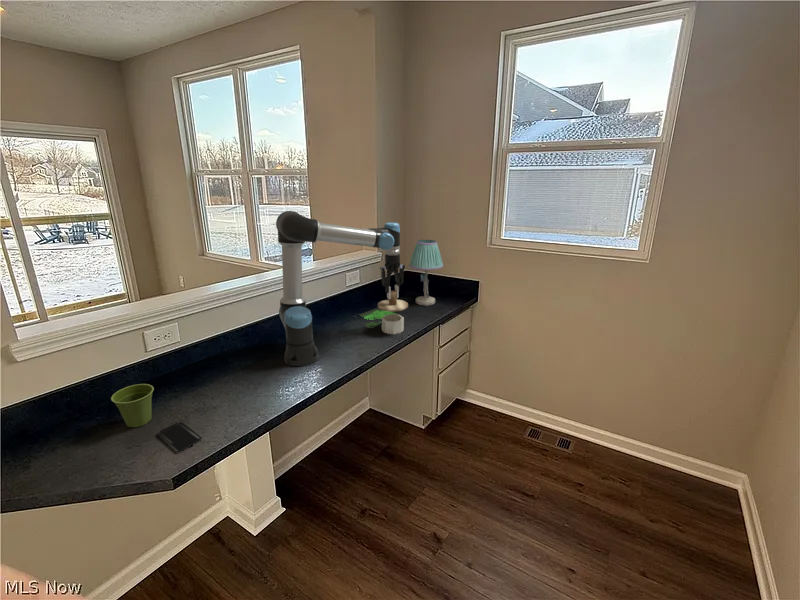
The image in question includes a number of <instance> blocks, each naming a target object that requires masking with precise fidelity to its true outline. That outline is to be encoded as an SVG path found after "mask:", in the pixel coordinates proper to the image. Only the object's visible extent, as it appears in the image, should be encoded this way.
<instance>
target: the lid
mask: <svg viewBox="0 0 800 600" xmlns="http://www.w3.org/2000/svg"><path fill="white" fill-rule="evenodd" d="M377 308H379V309H380V310H383V311H389V312H394V313H396V312H402V311H404V310H407V309H408V308H409V303H408V302H407V301H405V300H403V299H398V298H397V291H395V289H393V290H391V299H384V300H381V301H379V302H378V303H377Z"/></svg>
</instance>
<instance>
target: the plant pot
mask: <svg viewBox="0 0 800 600" xmlns="http://www.w3.org/2000/svg"><path fill="white" fill-rule="evenodd" d="M154 390H155V388H154V386H153V385H151V384H150V383H149V384H148V383H139V384H138V383H137V384H132V385H129V386H125V387H124V388H123V387H122V388H121V389H119V390H116V392H115V393H113V394H112V396H111V397H110V401H111V402H112V403H114V404H115V406H116V407H117V409H118V410H119V413H120V415H121V416H122V418H123V422H124V423H125V425H126V426H127V427H128V428H138V427H139V428H140V427H143V426H145V425H146V424H148V423H149V422H150V421H151V420H152V398H153V392H154Z"/></svg>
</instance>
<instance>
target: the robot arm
mask: <svg viewBox="0 0 800 600" xmlns="http://www.w3.org/2000/svg"><path fill="white" fill-rule="evenodd" d="M275 227H276V229H277V242H278V244H280V246H281V259H282V260H281V262H282V266H281V267H282V294H283V296H282V298H280V300H279V310H278V316H279V319H280V320H281V322H282V325H283V327H284V330H285V338H286V339H285V340H286V347H285V351H284V355H283V357H284V360H283V361H284V364H286V365H288V366H290V367H291V366H292V367H305V366H309V365H313V363H315V362H316V361H318V360H319V351H318V348H317V345H316V344H315V341H314V333H313V332H314V330H313V315H312V312H311V309H309V308H307V305H306V304H307V303H306V302H307V301H306V298H305V297H304V296H303V259H302V257H303V254H302V252H303V251H302V249H303V248H302V246H304V244H305V243H313V244H314V243H316V242H318V241H319V242H328V243H335V244H343V245H344V244H345V245H352V246H361V247H370V248H376V249H381V250H384V253H385V254H384V261H385V263H384V265H383V266H380V267H379V269H380V273H381V275H380V276H381V285H382V286H383V287H385V293H386V298H387V300H389V299H391V288H392V287H391V286H390V284H391V277H392V274H394V275H393V276H394V280H395V283H396V284H394V291H397V299H398V298H399V295H400V294H399V292H400V291H401V285H403V284H404V276H405V275H404V273H405V272H404V271H405V267H406V265H404V264H401V255H400V253H401V243H400V241H401V229H400V227H401V226H400V223H398V222H386V223H384V226H383V227H373V228H372V227H371V228H358V227H353V226H352V227H351V226H345V225H338V224H331V223H324V222H320V221H319V220H318V219H314V218H309V217H306V216H304V215H302V214H300V213H298V212H296V211H293V210H286V211H283V212H281V213H280V214H279V215H278V216H277V219H276V222H275Z"/></svg>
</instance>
